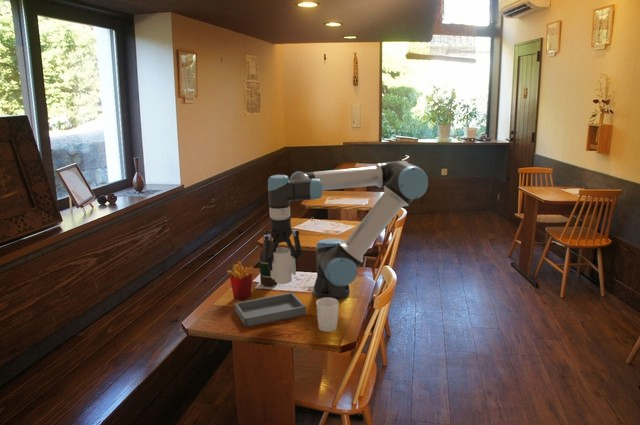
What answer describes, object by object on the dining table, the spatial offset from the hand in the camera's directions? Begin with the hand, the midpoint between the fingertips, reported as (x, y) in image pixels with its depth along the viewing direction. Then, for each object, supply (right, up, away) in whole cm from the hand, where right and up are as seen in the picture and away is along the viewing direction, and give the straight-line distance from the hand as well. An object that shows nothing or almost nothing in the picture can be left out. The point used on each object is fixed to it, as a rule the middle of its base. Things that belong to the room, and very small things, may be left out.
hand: (283, 275), depth 197 cm
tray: (-5, -15, +3) cm, 16 cm away
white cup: (+17, -18, -9) cm, 26 cm away
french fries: (-19, -11, +17) cm, 28 cm away
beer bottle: (-8, -7, +31) cm, 33 cm away
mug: (+1, -2, +1) cm, 2 cm away
